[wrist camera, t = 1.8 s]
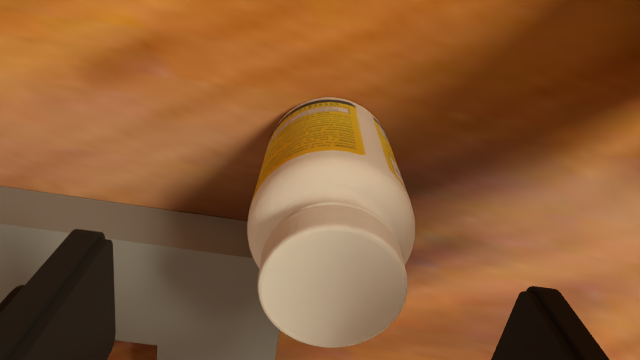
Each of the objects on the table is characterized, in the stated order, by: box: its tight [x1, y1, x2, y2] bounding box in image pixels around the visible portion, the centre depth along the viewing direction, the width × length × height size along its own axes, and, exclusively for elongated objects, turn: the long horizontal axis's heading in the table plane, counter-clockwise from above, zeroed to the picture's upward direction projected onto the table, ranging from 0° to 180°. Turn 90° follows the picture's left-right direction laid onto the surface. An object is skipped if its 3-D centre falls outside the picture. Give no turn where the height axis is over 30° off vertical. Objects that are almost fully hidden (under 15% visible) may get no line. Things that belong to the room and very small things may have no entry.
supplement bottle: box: [247, 97, 415, 348], centre depth 17 cm, size 5×5×10 cm
